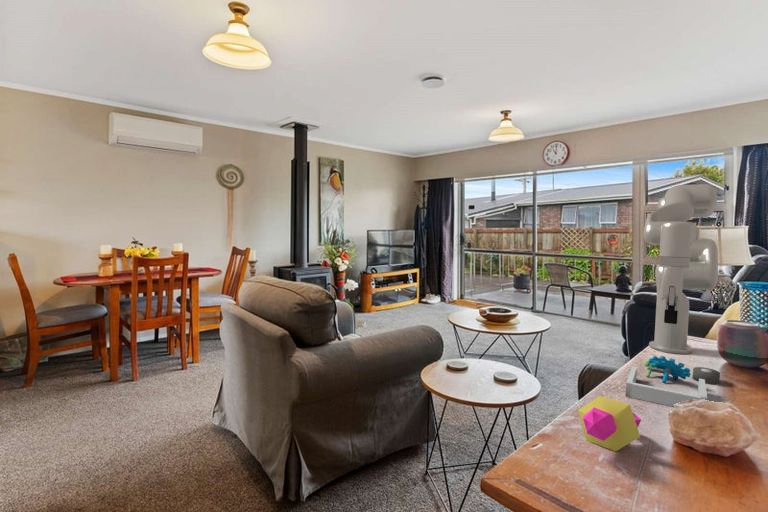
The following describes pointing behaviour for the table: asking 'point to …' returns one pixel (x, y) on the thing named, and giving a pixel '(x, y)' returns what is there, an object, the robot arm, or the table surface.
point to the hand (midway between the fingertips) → (670, 322)
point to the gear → (666, 368)
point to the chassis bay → (660, 391)
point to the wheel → (706, 375)
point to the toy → (609, 423)
